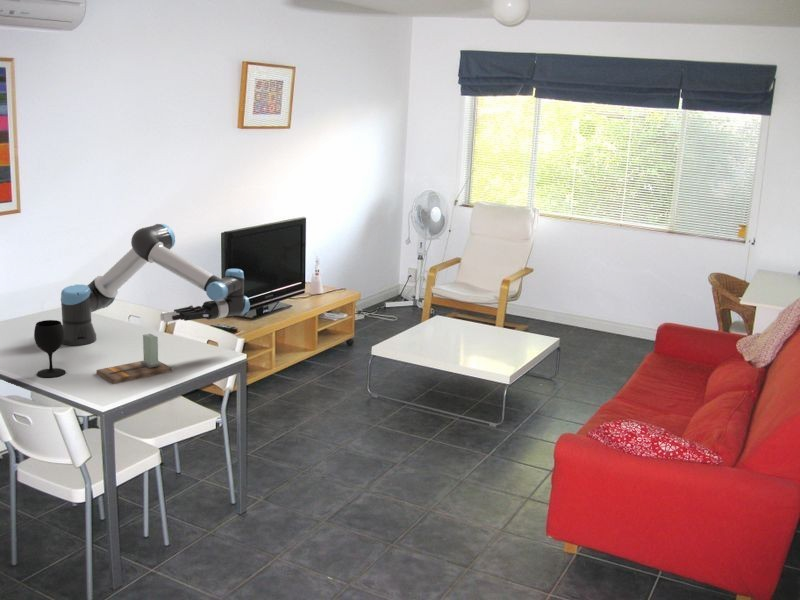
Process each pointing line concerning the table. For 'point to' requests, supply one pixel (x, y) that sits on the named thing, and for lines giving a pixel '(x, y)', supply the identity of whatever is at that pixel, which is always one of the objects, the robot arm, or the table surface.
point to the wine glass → (49, 344)
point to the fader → (150, 351)
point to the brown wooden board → (131, 371)
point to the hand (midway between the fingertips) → (162, 318)
